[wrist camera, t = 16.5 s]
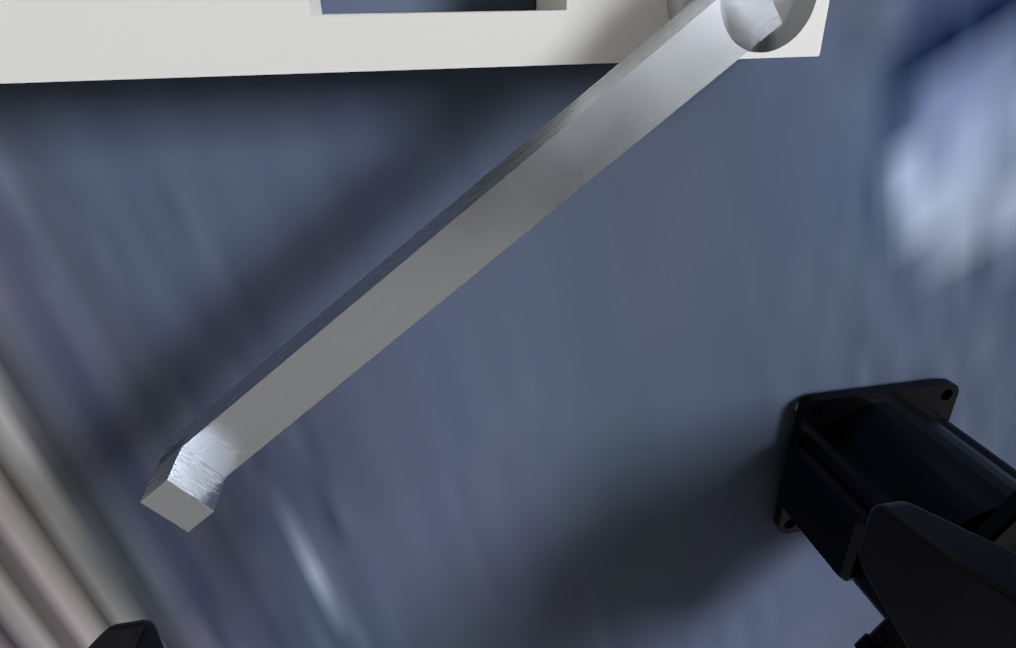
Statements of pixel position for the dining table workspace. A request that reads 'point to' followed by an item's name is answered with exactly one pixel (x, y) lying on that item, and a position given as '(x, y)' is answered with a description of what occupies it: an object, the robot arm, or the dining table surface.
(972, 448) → the robot arm
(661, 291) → the dining table surface
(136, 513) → the dining table surface
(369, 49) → the power strip
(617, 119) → the clip
